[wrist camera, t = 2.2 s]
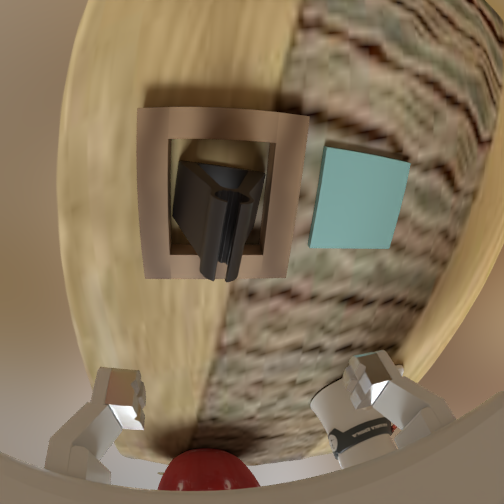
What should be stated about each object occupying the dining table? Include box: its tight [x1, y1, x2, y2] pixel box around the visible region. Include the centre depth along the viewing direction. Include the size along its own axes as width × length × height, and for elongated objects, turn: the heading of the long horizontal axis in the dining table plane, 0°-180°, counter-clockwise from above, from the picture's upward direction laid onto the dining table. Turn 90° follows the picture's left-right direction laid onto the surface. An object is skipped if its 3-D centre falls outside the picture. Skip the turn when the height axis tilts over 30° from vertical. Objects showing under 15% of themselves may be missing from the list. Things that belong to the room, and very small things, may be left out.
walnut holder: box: [137, 107, 310, 279], centre depth 28 cm, size 16×18×2 cm
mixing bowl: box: [158, 448, 261, 491], centre depth 55 cm, size 28×28×16 cm
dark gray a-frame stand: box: [172, 161, 265, 282], centre depth 24 cm, size 9×6×12 cm, turn 78°
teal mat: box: [308, 146, 411, 249], centre depth 32 cm, size 12×12×1 cm
